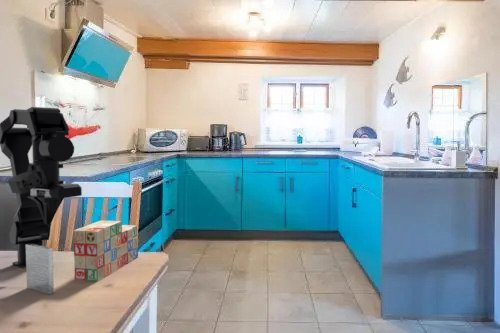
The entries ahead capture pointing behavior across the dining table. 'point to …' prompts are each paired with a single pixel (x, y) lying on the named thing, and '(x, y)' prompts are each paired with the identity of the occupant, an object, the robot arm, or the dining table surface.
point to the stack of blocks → (103, 249)
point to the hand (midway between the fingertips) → (47, 224)
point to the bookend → (39, 268)
